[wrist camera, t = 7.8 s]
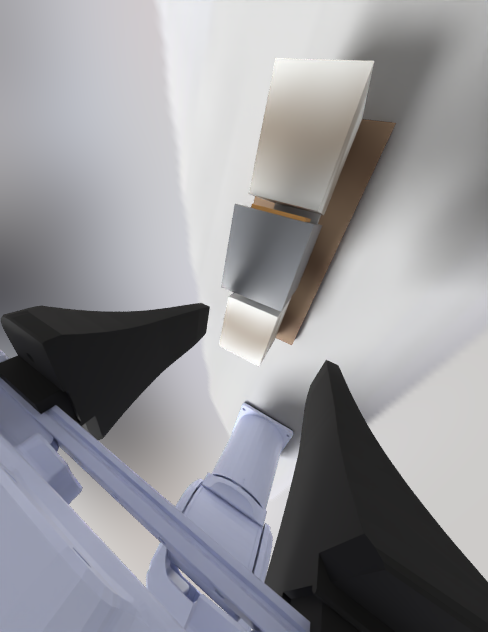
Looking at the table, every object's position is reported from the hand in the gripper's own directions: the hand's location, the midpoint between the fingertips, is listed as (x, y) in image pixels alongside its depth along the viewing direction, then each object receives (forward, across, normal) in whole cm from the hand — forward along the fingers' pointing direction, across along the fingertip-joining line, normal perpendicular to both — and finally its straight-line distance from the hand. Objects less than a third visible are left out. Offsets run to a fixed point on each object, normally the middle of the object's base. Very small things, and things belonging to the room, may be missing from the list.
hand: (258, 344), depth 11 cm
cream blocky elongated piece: (+9, +2, -4) cm, 10 cm away
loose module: (+8, +2, -4) cm, 9 cm away
